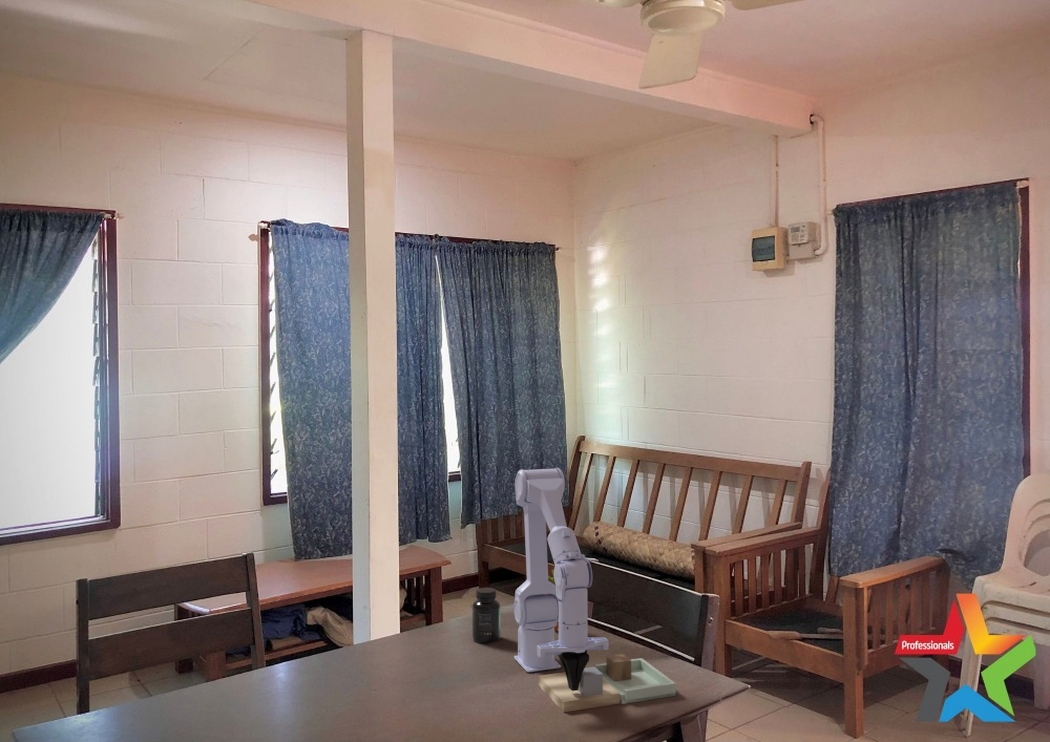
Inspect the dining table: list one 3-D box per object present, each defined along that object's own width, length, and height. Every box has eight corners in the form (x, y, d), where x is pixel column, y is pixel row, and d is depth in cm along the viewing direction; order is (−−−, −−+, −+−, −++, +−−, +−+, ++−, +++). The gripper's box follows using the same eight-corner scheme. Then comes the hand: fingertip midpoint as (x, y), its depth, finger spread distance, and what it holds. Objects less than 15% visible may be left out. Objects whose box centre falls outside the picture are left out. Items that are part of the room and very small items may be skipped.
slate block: (576, 688, 170) (576, 669, 170) (594, 686, 171) (594, 666, 171) (584, 696, 166) (584, 676, 166) (602, 693, 167) (602, 673, 167)
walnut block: (606, 656, 181) (623, 654, 182) (606, 674, 181) (623, 672, 182) (613, 662, 177) (631, 660, 178) (613, 681, 177) (631, 679, 178)
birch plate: (538, 685, 177) (538, 675, 177) (591, 677, 181) (591, 668, 181) (563, 712, 164) (563, 702, 164) (619, 703, 168) (619, 693, 168)
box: (591, 676, 181) (591, 665, 181) (641, 669, 185) (641, 658, 185) (622, 704, 167) (622, 691, 167) (675, 695, 171) (675, 683, 171)
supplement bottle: (506, 638, 206) (506, 589, 205) (486, 646, 201) (486, 596, 200) (486, 632, 210) (485, 584, 210) (466, 639, 205) (466, 590, 205)
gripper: (545, 631, 161) (546, 701, 161) (615, 622, 166) (615, 691, 166) (533, 619, 168) (533, 687, 168) (600, 612, 172) (600, 678, 173)
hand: (573, 688), depth 167 cm, fingers closed
